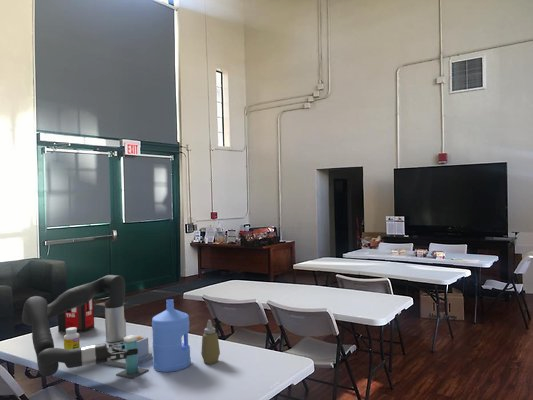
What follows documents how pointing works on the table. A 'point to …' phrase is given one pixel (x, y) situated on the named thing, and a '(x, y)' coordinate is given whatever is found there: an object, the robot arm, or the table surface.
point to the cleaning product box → (77, 318)
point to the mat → (132, 376)
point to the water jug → (170, 339)
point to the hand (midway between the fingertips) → (136, 348)
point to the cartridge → (132, 359)
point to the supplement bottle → (71, 339)
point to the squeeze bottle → (210, 345)
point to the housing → (142, 354)
